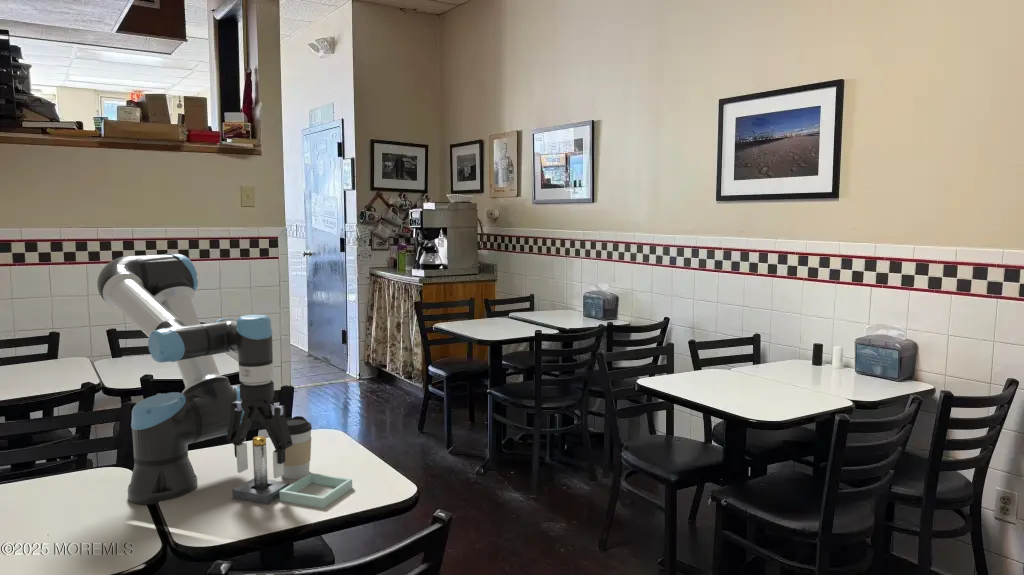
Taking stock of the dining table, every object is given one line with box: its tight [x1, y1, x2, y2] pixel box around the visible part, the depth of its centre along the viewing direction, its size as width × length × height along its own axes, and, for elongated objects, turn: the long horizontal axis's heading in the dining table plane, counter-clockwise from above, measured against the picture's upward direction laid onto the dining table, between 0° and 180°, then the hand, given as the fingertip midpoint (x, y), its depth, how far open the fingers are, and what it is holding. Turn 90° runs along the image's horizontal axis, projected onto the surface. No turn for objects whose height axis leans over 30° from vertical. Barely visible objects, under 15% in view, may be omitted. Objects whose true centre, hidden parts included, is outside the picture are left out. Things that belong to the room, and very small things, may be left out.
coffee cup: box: [279, 415, 313, 480], centre depth 176 cm, size 9×9×15 cm
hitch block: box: [231, 477, 291, 506], centre depth 163 cm, size 10×8×3 cm
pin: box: [251, 435, 269, 490], centre depth 162 cm, size 3×3×14 cm
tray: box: [279, 472, 353, 509], centre depth 164 cm, size 12×12×3 cm
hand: (260, 473), depth 163 cm, fingers open, 10 cm apart
